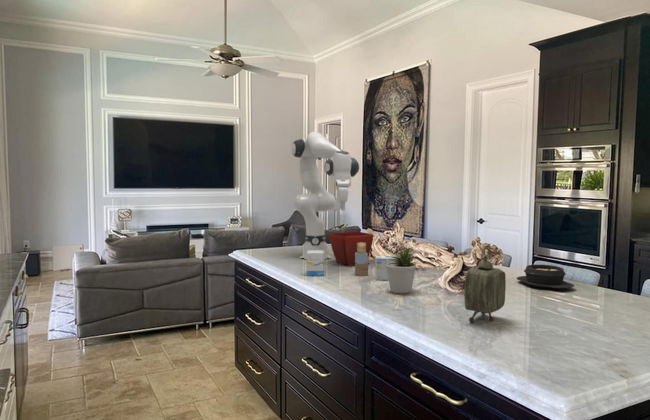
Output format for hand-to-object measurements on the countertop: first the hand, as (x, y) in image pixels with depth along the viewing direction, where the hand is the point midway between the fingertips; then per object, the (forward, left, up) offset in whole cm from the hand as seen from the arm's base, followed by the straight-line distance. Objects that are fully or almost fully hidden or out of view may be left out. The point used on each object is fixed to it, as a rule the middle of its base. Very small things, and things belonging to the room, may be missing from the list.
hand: (342, 209), depth 246 cm
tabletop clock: (+86, +44, -32) cm, 102 cm away
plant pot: (-21, +6, -32) cm, 39 cm away
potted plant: (+45, +23, -32) cm, 60 cm away
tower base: (+10, +9, -32) cm, 35 cm away
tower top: (+10, +9, -26) cm, 29 cm away
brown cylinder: (+10, +9, -21) cm, 25 cm away
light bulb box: (+20, +20, -32) cm, 43 cm away
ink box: (+8, -14, -32) cm, 36 cm away
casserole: (+37, +88, -32) cm, 101 cm away
